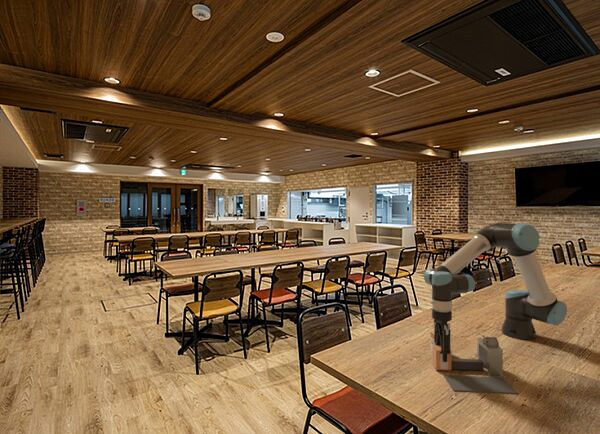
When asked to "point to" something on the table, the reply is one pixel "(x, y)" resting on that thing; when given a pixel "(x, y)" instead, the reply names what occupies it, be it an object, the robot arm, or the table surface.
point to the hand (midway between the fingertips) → (441, 365)
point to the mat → (480, 384)
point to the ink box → (433, 338)
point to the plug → (455, 361)
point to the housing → (490, 355)
